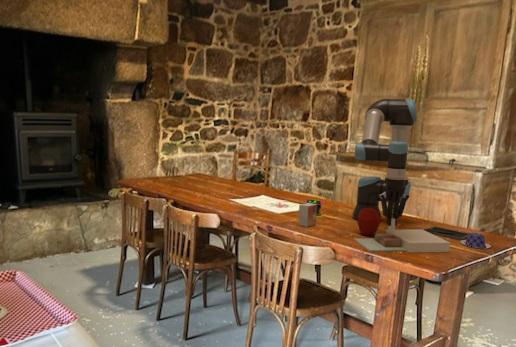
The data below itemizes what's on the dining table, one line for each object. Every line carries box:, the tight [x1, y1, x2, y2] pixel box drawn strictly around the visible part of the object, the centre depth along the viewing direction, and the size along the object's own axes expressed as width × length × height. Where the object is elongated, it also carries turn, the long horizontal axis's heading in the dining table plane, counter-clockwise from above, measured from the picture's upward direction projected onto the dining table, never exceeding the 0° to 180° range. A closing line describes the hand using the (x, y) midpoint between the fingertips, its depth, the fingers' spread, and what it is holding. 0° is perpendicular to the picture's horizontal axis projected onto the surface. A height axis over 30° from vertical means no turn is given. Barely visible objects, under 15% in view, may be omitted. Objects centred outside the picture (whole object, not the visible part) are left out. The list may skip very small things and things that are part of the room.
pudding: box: [459, 232, 492, 249], centre depth 176 cm, size 12×12×5 cm
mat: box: [353, 237, 407, 252], centre depth 170 cm, size 16×16×1 cm
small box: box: [297, 202, 317, 228], centre depth 200 cm, size 8×6×10 cm
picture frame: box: [423, 225, 470, 241], centre depth 193 cm, size 13×2×18 cm
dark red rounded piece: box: [357, 206, 381, 236], centre depth 186 cm, size 10×10×14 cm
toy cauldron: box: [303, 196, 325, 219], centre depth 223 cm, size 15×15×11 cm
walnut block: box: [374, 233, 401, 247], centre depth 171 cm, size 10×7×3 cm
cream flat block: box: [385, 229, 451, 253], centre depth 173 cm, size 20×18×4 cm
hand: (390, 232), depth 171 cm, fingers closed
